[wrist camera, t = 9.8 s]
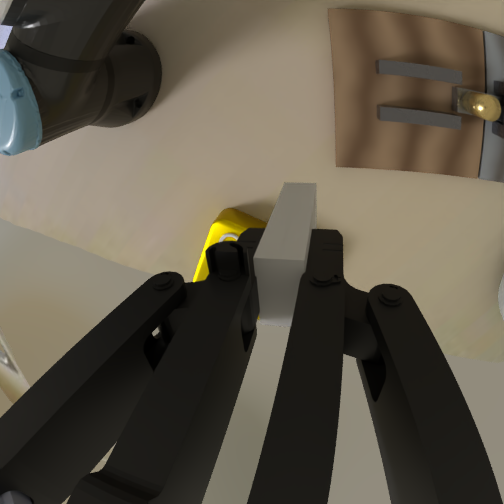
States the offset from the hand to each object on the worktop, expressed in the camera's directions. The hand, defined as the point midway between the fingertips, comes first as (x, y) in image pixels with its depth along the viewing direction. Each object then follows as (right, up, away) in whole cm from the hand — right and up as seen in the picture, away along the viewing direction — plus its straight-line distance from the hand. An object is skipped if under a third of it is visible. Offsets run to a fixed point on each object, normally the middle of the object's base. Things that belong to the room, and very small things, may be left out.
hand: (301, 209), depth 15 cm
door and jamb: (+22, +17, +15) cm, 32 cm away
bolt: (+26, +16, +12) cm, 33 cm away
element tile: (-2, -3, +36) cm, 36 cm away
